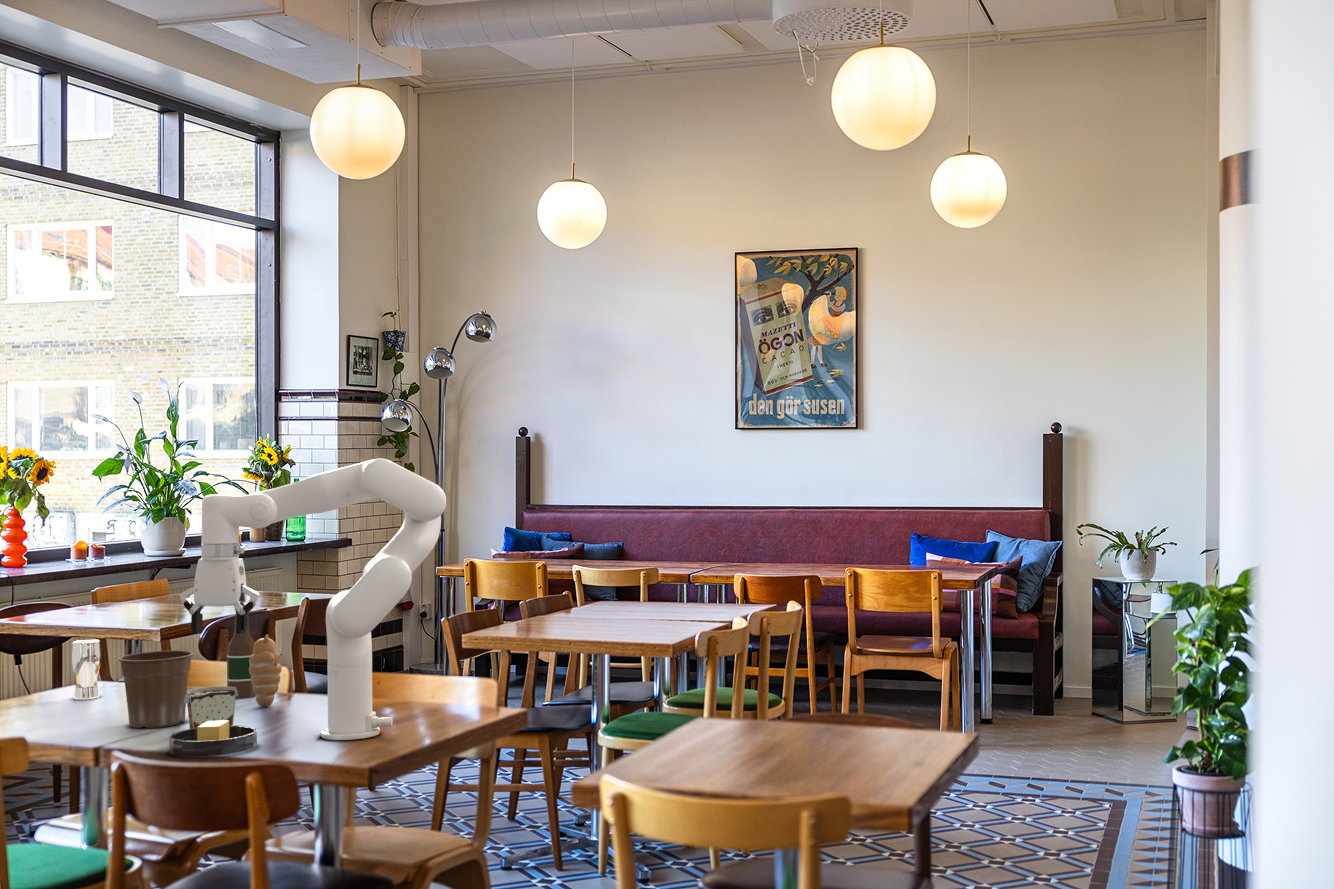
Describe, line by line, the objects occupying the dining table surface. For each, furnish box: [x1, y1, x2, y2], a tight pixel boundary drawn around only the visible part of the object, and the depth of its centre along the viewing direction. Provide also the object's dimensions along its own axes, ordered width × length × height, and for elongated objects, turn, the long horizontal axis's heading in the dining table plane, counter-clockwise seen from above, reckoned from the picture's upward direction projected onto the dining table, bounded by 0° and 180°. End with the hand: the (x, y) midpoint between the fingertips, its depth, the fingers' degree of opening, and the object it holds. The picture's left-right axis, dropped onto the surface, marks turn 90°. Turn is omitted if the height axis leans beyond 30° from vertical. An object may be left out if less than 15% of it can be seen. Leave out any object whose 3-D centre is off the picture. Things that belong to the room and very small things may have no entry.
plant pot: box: [117, 650, 194, 729], centre depth 298 cm, size 16×16×16 cm
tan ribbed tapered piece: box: [249, 633, 283, 708], centre depth 319 cm, size 9×8×18 cm
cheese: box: [197, 720, 229, 741], centre depth 266 cm, size 4×7×5 cm, turn 3°
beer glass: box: [71, 639, 102, 701], centre depth 339 cm, size 7×7×15 cm
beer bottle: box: [226, 608, 256, 699], centre depth 337 cm, size 8×8×24 cm
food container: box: [184, 686, 238, 729], centre depth 284 cm, size 12×6×10 cm, turn 141°
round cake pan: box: [168, 724, 258, 757], centre depth 266 cm, size 17×17×4 cm
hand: (219, 633), depth 270 cm, fingers open, 9 cm apart
